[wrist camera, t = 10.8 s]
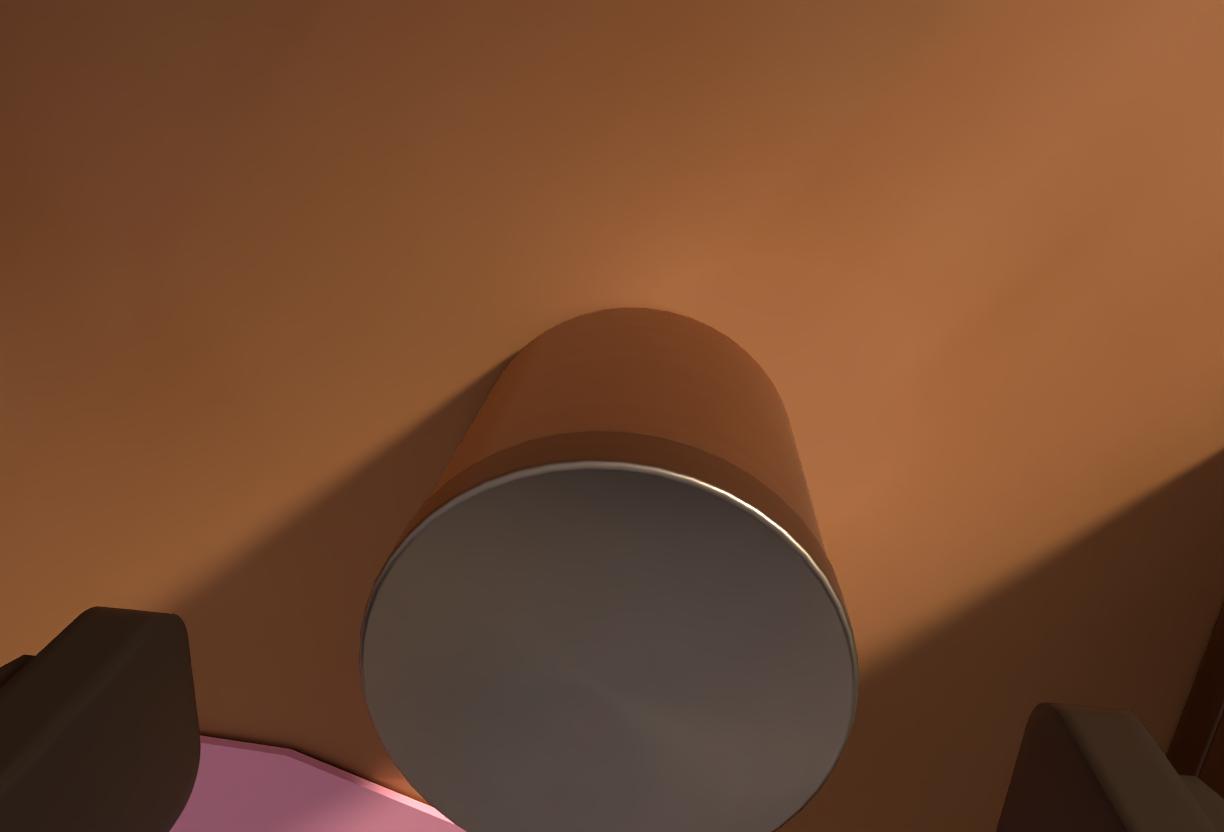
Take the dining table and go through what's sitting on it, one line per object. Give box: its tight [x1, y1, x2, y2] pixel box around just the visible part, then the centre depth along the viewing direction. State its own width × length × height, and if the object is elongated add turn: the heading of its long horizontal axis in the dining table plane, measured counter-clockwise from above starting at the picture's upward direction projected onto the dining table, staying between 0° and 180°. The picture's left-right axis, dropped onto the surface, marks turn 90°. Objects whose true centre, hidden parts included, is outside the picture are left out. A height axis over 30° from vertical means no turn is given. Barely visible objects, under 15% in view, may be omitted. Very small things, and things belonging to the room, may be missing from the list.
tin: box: [359, 308, 859, 832], centre depth 12 cm, size 5×5×6 cm
